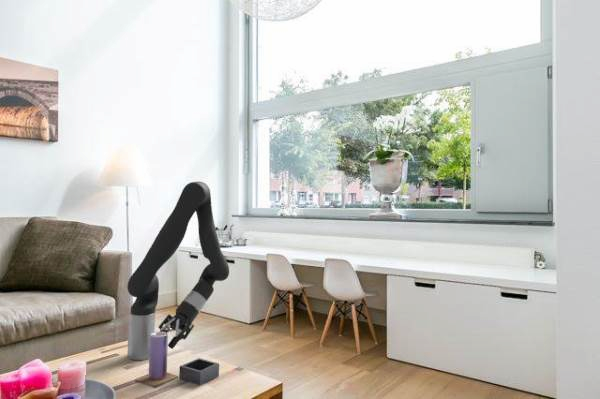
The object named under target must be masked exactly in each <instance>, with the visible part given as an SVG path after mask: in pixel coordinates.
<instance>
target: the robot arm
mask: <svg viewBox="0 0 600 399" xmlns="http://www.w3.org/2000/svg"><path fill="white" fill-rule="evenodd" d="M195 213H196V218H197V227H198V230H197V231H198V239H199V244H200V247H201V251H202V252H201V253H202V255H203V257H204V258H205V259H207V260H208V262H209V264H208V265H206V266H205V267H204V269H203V270H202V272H201V274H200V276H199V279H198V281H197V283H196V284H195V285H194V286H193V288H191V290H190V292H189V293H187V295H186V296H185V297H184V298H183V300H182V301H181V302H180V304H179V305H178V306H177V308H176V309H175V315H174V316H172V315H171V314H167V316H166V317H165V318H164V320H162V322H161V323H160V324H159V325H158V329H159V332H167V334H168V333H170V332H173V331H174V332H175V335H174V336H173V337H172V339H171V340H170V341H169V342H168V347H169V349H172V350H173V349H174V348H175V347H176V345H177V344H178V343H179V342H180V341H182V340H186V339H187V338H188V336H189V335H190V333H191V331H193V329H194V327H195V324H194V323H193V322H194V321H195V319H196V318H197V316H198V315H199V314H200V313H201V311H202V309H203V308H204V307H205V305H206V303H207V301H208V300H209V298H210V297H211V296H212V295H213V293H214V290H215V289H214V287H213V286H214V284H215V282H217V281H218V282H223V281H225V280H226V279H228V278H229V275H230V267H229V264H228V261H227V260H226V257H225V256H224V254H223V251H222V249H221V245H220V242H219V236H218V233H217V230H216V225H215V220H214V213H213V206H212V197H211V189H210V187H209V185H208V184H206V183H205V182H203V181H191V182H188V183H187V184H186V185H185V186H184V187H183V189H182V191H181V193H180V195H179V197H178V200H177V202H176V205H175V206H174V209H172V212H171V213H170V214H169V216H168V218H167V219H166V220H165V221H164V224H163V225H162V227H161V229H160V230H159V231H158V234H157V235H156V237H155V238H154V240H153V241H152V242H153V243H152V244H151V246H150V248H148V251H147V252H146V254H145V256H144V258H143V259H142V261H141V263H140V264H139V265H138V267H137V268H136V270H134V272H133V273H132V275H131V276H130V277H129V279H128V282H127V285H126V286H127V287H126V288H127V291H128V293H129V295H130V296H131V297H134V298H135V301H134V302H133V303H132V304H131V306H130V316H129V317H130V318H129V320H130V321H129V331H128V333H127V357H128V358H129V359H130V360H134V361H144V360H149V351H150V336H151V333H154V332H156V331H155V330H156V329H155V328H156V327H155V326H156V308H157V305H158V301H159V289H160V284H159V278H158V276H157V273H158V271H159V270H160V269H161V268H162V267H163V265H165V264H166V263H167V262H168V261H169V260H170V259H171V258H172V256H173V255H174V254H175V253H176V251H177V250H178V249H179V247H180V245H181V244H182V242H183V241H184V240H183V239H184V238H185V235H186V233H187V229H188V226H189V224H190V221H191V219H192V218H193V216H194V214H195Z"/></svg>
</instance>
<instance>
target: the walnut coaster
mask: <svg viewBox="0 0 600 399" xmlns="http://www.w3.org/2000/svg"><path fill="white" fill-rule="evenodd" d="M177 379H179V375H176V374H173V373H170V372H167V375H166V377H165V378H164V379H161V380H152V379H150V378H149V373H147V374H145V375H142V376H140V377H137V378H135V382H138V383H141V384H144V385H147V386H150V387H153V388H158V387H161V386H163V385H166V384H167V383H171V381H174V380H177Z"/></svg>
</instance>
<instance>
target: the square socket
mask: <svg viewBox="0 0 600 399" xmlns="http://www.w3.org/2000/svg"><path fill="white" fill-rule="evenodd" d="M178 374H179V375H178V379H179V380H181V381H184V382H188V383H191V384H194V385H196V386H202V385H205V384H207V383H208V382H210V381H212V380H215V379H217V377H219V376H220V363H219V362H215V361H212V360H208V359H204V358H201V357H200V358H196V359H194V360H191V361H189V362H186V363H184V364H181V365H179V373H178Z"/></svg>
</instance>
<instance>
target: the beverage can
mask: <svg viewBox="0 0 600 399" xmlns="http://www.w3.org/2000/svg"><path fill="white" fill-rule="evenodd" d="M168 344H169V336H168V333H167V332H160V331H155V332H154V333H151V336H150V351H149V359H148V374H149V378H150V379H152V380H161V379H164V378H165V377H166V375H167V373H168V349H169V348H168V347H169V346H168Z"/></svg>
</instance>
